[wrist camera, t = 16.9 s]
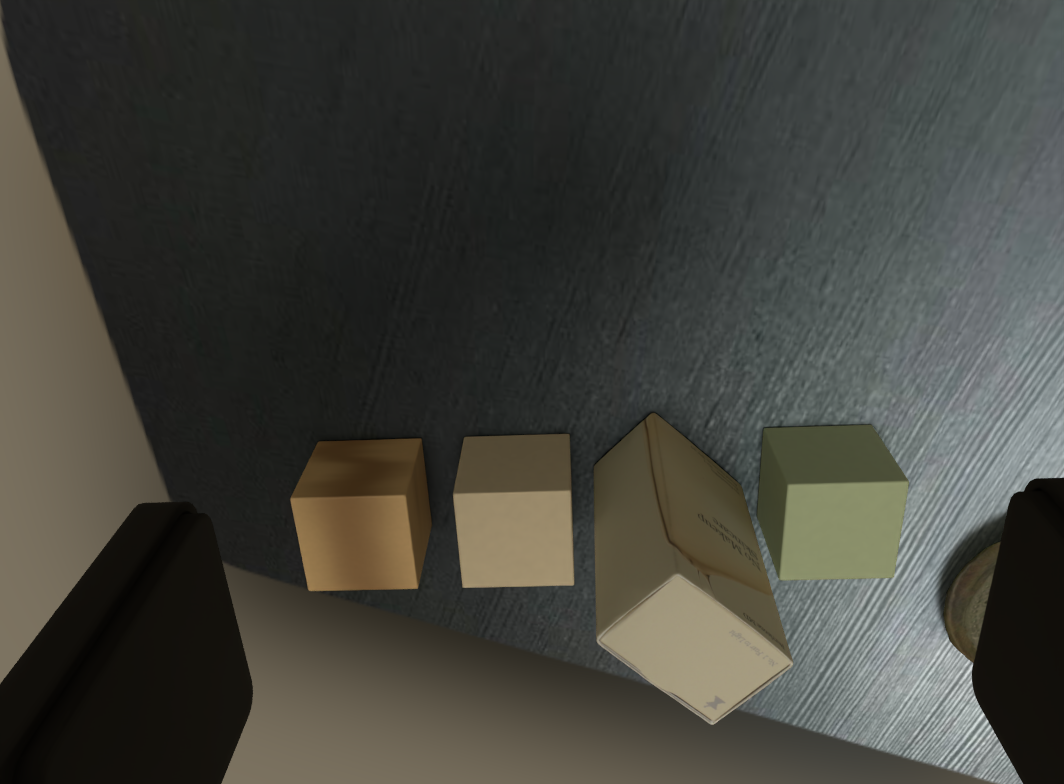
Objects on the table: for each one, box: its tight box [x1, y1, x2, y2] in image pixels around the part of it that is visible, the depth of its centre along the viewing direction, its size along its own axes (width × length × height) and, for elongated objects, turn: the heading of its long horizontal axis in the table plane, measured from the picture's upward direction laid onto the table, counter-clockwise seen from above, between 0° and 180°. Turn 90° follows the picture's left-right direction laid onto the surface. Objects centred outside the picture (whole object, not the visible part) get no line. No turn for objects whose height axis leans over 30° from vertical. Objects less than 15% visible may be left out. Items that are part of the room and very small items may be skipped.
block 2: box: [453, 434, 574, 588], centre depth 41 cm, size 5×5×5 cm
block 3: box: [757, 425, 909, 580], centre depth 40 cm, size 5×5×5 cm
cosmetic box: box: [594, 413, 793, 725], centre depth 37 cm, size 6×4×12 cm
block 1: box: [290, 438, 432, 591], centre depth 41 cm, size 5×5×5 cm
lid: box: [943, 542, 1000, 663], centre depth 43 cm, size 10×10×5 cm
